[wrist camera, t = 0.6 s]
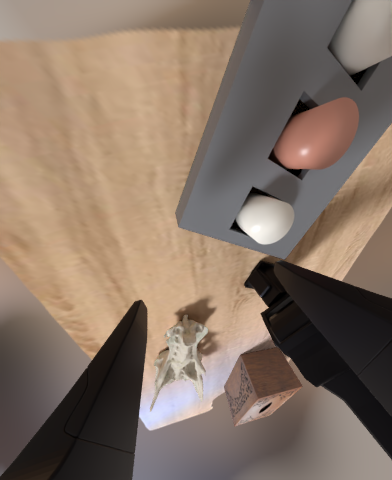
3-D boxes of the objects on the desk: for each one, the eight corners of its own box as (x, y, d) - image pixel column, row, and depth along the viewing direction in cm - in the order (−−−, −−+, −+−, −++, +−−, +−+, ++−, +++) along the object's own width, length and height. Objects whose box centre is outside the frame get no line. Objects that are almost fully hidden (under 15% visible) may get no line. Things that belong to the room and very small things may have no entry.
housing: (378, 70, 15) (461, 33, 11) (263, 242, 24) (284, 259, 20) (278, -80, 10) (366, -268, 6) (175, 212, 18) (178, 227, 14)
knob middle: (313, 131, 14) (369, 119, 10) (287, 175, 16) (326, 178, 12) (285, 107, 13) (337, 81, 9) (258, 157, 14) (293, 154, 11)
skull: (149, 413, 32) (153, 361, 21) (153, 369, 39) (157, 312, 28) (201, 403, 35) (229, 352, 23) (196, 363, 42) (215, 310, 30)
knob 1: (271, 200, 17) (303, 210, 13) (252, 231, 19) (275, 248, 15) (243, 186, 16) (270, 194, 12) (225, 221, 17) (243, 238, 13)
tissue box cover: (239, 353, 44) (258, 399, 36) (277, 346, 48) (302, 386, 39) (223, 386, 56) (234, 426, 47) (255, 378, 59) (270, 414, 51)
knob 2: (376, 29, 12) (484, -40, 8) (336, 94, 13) (408, 65, 9) (349, -18, 10) (465, -133, 6) (307, 62, 12) (379, 11, 8)
